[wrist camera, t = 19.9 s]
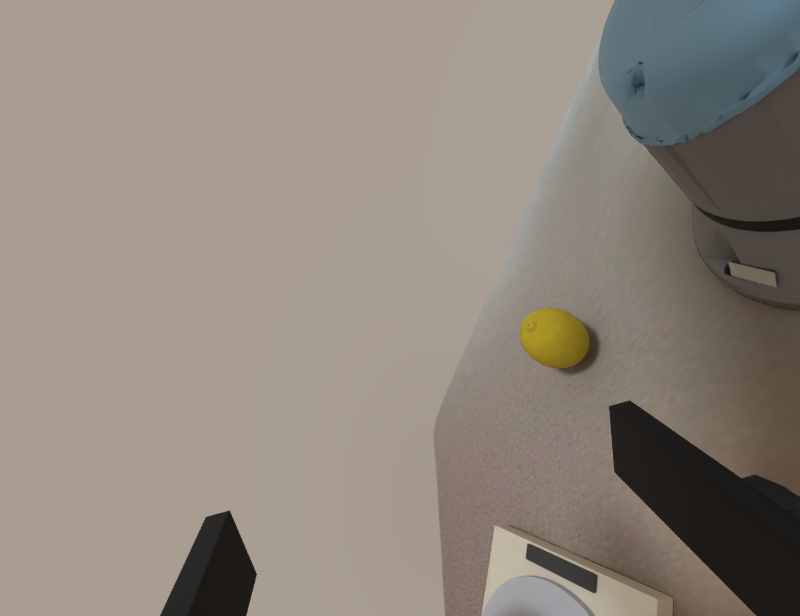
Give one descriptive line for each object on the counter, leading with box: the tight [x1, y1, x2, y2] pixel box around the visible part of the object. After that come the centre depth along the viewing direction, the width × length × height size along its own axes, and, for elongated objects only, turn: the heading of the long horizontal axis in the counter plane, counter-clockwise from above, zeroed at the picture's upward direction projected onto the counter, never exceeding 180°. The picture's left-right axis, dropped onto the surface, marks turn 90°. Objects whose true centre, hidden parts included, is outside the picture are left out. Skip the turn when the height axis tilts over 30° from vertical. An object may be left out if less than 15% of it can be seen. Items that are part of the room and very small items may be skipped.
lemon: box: [520, 308, 589, 368], centre depth 37 cm, size 6×6×8 cm
